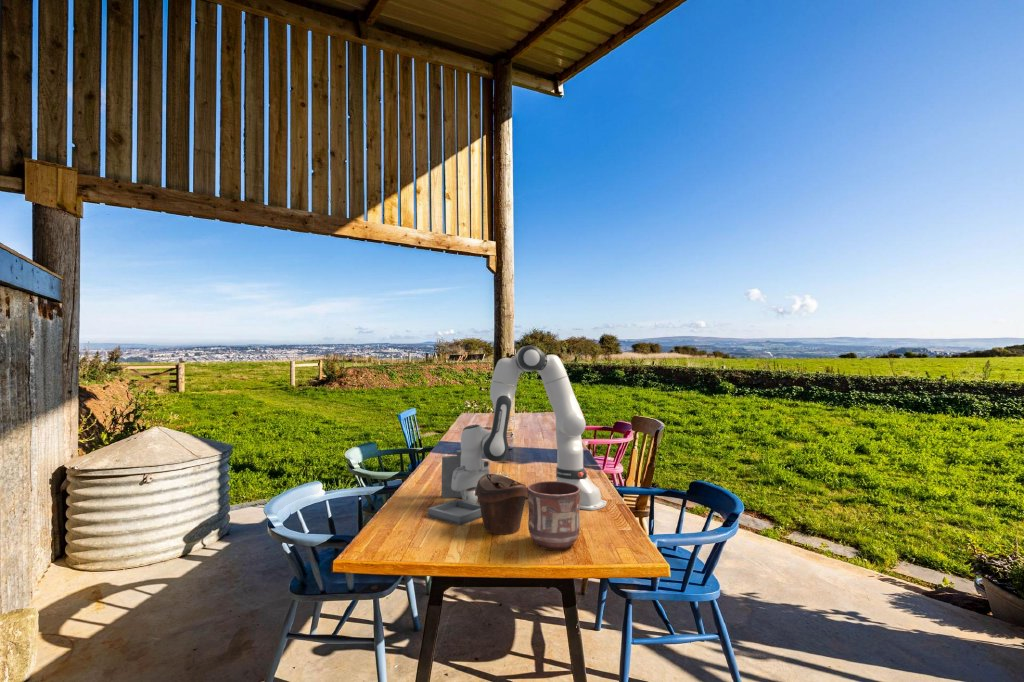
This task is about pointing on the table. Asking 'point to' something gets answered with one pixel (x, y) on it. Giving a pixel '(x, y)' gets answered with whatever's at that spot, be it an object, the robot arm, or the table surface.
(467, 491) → the cup
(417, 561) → the table surface
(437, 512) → the tray
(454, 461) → the hip flask
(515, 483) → the brown lidded tumbler
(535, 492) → the pottery
